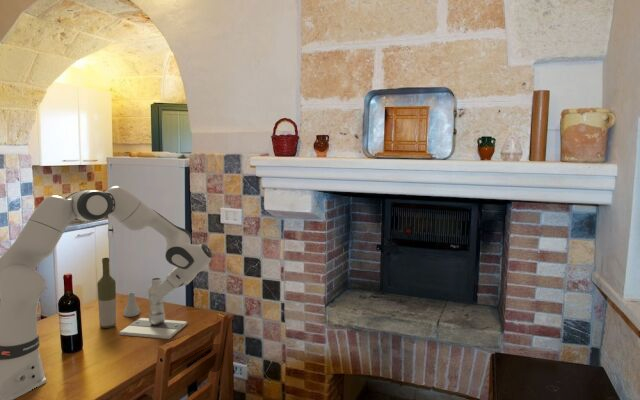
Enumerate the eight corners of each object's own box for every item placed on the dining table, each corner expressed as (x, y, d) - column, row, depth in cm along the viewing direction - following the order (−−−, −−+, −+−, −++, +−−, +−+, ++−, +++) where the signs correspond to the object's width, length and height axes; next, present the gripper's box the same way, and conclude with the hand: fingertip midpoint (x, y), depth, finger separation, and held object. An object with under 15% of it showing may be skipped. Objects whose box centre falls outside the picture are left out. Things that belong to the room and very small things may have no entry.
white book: (169, 338, 181) (169, 334, 181) (119, 334, 184) (119, 330, 184) (186, 324, 197) (186, 320, 197) (140, 320, 200) (140, 316, 200)
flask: (119, 316, 205) (119, 295, 204) (130, 310, 212) (130, 290, 210) (132, 318, 203) (132, 296, 201) (143, 312, 209) (143, 292, 208)
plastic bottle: (165, 325, 191) (165, 280, 189) (149, 327, 188) (148, 281, 186) (164, 320, 197) (164, 276, 195) (148, 322, 194) (147, 277, 192)
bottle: (120, 323, 196) (118, 256, 193) (111, 329, 189) (108, 260, 186) (104, 322, 196) (102, 256, 193) (95, 329, 189) (92, 260, 186)
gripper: (188, 263, 199) (168, 283, 201) (165, 275, 178) (143, 298, 181) (197, 273, 198) (177, 293, 201) (176, 287, 178) (154, 309, 181)
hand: (161, 295), depth 191 cm, fingers open, 8 cm apart
